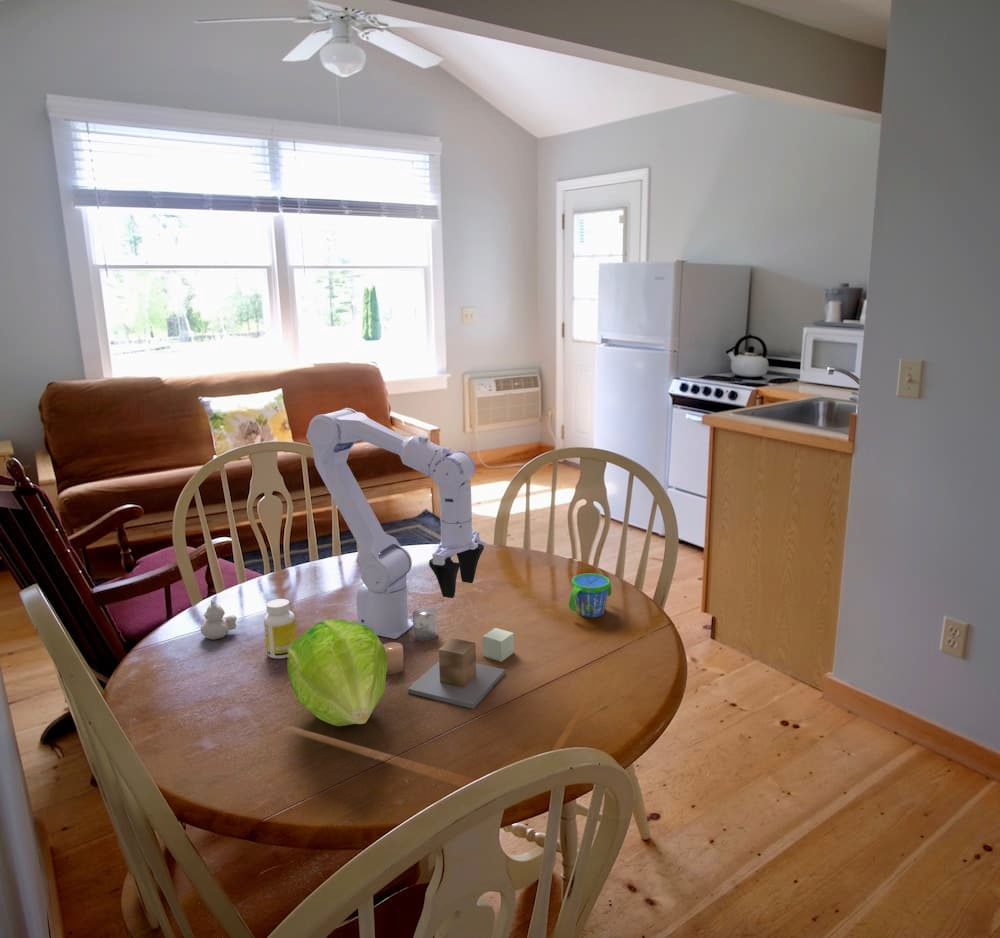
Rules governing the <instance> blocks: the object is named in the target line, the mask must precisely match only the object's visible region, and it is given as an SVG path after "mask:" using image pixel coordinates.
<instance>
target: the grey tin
mask: <svg viewBox="0 0 1000 938" xmlns="http://www.w3.org/2000/svg"><path fill="white" fill-rule="evenodd" d="M412 620H413V627H412V628H413V630H412V631H413V638H414V640H417V641H419V642H420V641H421V642H427V641H431V640H434V639H435V638H436V637H437V635H438V634H437V633H438V632H437V630H438V629H437V611H436V609H434V608H432V607H421V608H417V609H415V610H413V611H412Z"/></svg>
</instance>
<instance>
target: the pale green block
mask: <svg viewBox="0 0 1000 938" xmlns="http://www.w3.org/2000/svg"><path fill="white" fill-rule="evenodd" d="M514 633H515V632H512V631H508V630H505V629H501V628H497V627H494V628H493V629H490V630H489V631H488V632H487V633H485V634H484V635H482V649H483V650H482V656H483V657H485V658H488V659H492V660H496V661H498V662H500V663H501V662H503V661H504V660H506V659H507V658H509V657H510V656H511V655H513V654H514V653H515V651H514V650H515V649H514V648H515V645H514V644H515V643H514V642H515V638H514V637H515V636H514V635H515V634H514Z"/></svg>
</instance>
